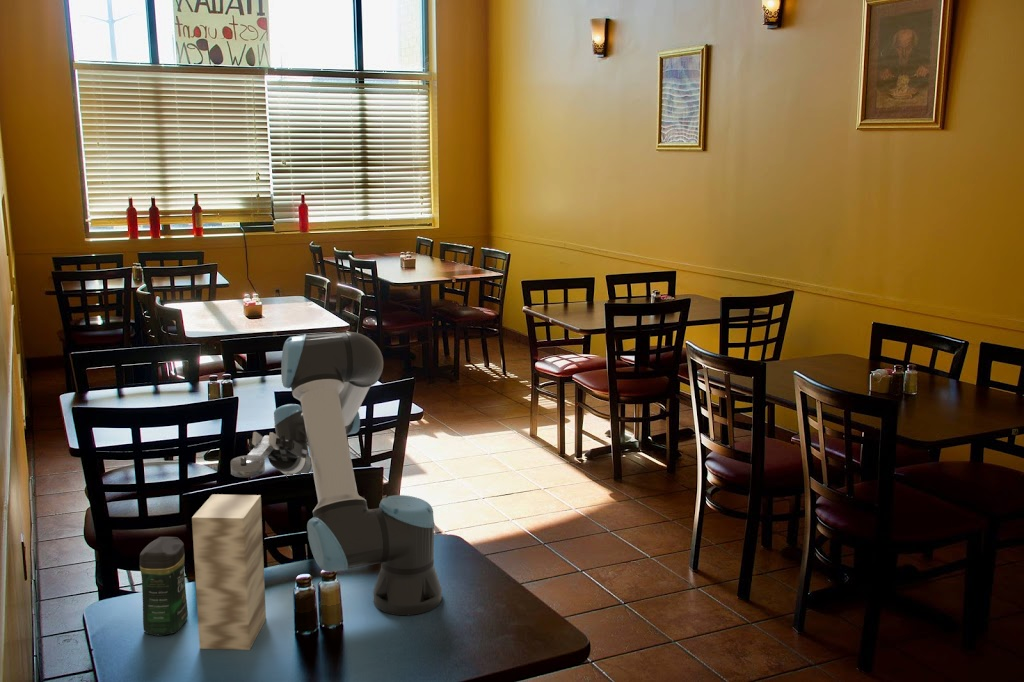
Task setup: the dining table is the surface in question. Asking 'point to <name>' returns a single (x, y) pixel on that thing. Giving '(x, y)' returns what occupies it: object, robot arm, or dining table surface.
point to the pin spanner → (252, 460)
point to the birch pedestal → (229, 571)
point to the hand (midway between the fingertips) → (262, 437)
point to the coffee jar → (163, 586)
